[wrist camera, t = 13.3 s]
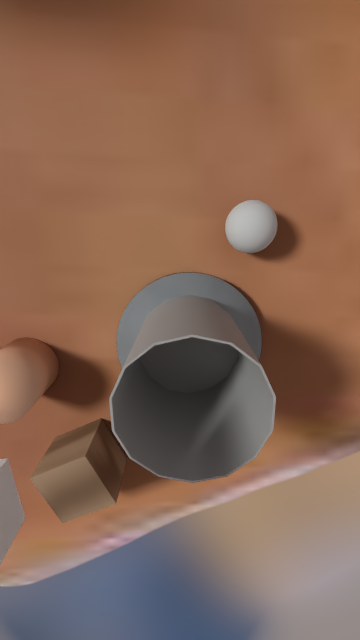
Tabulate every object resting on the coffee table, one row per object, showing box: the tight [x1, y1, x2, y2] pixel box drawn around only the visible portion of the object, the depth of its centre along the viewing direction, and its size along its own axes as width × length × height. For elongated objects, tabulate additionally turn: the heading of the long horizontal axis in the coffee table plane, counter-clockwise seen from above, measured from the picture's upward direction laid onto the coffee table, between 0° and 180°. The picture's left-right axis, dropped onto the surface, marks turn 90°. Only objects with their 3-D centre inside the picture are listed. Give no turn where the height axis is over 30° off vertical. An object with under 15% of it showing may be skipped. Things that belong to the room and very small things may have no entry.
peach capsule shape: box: [0, 338, 59, 424], centre depth 24 cm, size 5×5×5 cm
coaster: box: [117, 272, 262, 369], centre depth 25 cm, size 12×12×1 cm
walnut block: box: [30, 418, 127, 523], centre depth 26 cm, size 5×5×5 cm
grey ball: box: [225, 200, 278, 253], centre depth 21 cm, size 4×4×4 cm
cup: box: [109, 294, 276, 483], centre depth 20 cm, size 8×8×10 cm
